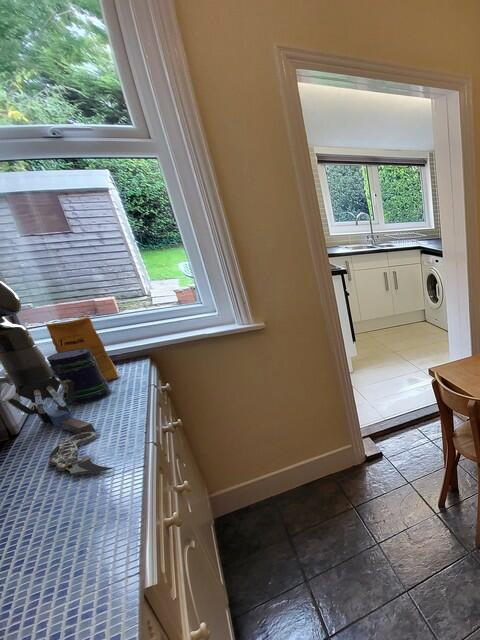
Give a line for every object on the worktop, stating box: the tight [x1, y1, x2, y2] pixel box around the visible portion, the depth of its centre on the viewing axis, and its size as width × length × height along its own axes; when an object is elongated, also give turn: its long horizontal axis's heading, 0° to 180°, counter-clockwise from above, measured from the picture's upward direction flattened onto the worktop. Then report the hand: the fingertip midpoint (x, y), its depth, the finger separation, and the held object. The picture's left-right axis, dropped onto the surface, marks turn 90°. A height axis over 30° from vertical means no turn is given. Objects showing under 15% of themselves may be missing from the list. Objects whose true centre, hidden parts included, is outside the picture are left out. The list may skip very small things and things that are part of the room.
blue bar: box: [44, 406, 73, 427], centre depth 115 cm, size 10×3×3 cm, turn 66°
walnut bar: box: [61, 417, 96, 434], centre depth 111 cm, size 10×2×2 cm, turn 66°
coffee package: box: [45, 316, 119, 383], centre depth 140 cm, size 10×12×22 cm
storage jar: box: [46, 348, 112, 405], centre depth 129 cm, size 10×10×15 cm
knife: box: [47, 432, 114, 475], centre depth 99 cm, size 28×2×10 cm
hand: (58, 420), depth 116 cm, fingers closed on blue bar, 3 cm apart
